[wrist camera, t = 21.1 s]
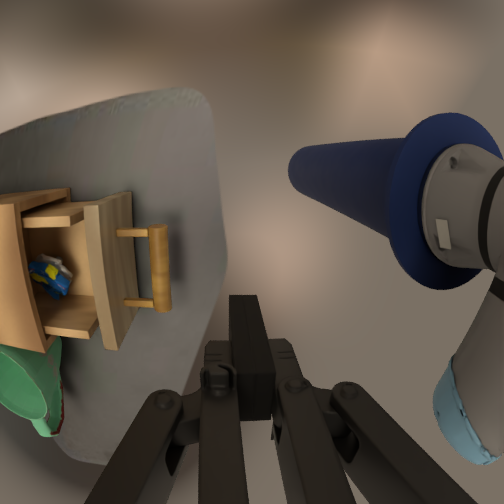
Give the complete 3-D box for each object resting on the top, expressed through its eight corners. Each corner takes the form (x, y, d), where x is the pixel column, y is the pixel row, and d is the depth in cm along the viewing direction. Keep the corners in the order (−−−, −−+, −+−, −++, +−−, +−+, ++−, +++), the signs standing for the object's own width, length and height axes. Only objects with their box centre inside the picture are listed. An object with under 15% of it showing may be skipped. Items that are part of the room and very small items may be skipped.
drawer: (176, 190, 26) (157, 203, 18) (180, 307, 29) (168, 354, 22) (25, 198, 24) (-22, 212, 17) (41, 299, 28) (5, 334, 20)
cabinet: (70, 187, 25) (13, 203, 16) (84, 304, 29) (45, 353, 20) (-16, 196, 24) (-71, 213, 15) (0, 295, 28) (-43, 332, 19)
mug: (7, 303, 28) (-37, 343, 19) (64, 301, 29) (20, 350, 19) (47, 392, 33) (21, 439, 23) (102, 398, 33) (81, 453, 24)
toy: (77, 304, 24) (45, 298, 25) (90, 274, 27) (58, 272, 28) (48, 271, 21) (17, 268, 22) (65, 240, 23) (34, 240, 24)
